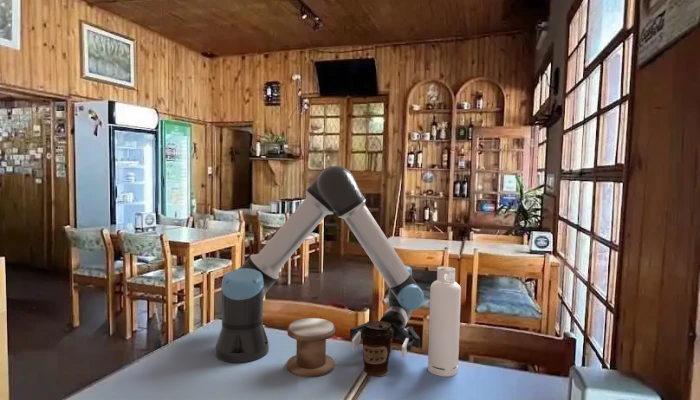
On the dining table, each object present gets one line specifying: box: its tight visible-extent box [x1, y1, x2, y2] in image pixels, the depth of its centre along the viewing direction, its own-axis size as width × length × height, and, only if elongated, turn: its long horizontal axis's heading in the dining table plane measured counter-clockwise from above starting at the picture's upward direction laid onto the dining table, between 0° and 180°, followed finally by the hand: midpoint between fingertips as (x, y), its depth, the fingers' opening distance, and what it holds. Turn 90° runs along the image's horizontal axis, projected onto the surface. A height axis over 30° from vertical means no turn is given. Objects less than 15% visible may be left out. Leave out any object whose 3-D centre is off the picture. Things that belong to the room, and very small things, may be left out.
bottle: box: [427, 266, 462, 377], centre depth 117 cm, size 8×8×28 cm
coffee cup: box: [361, 320, 393, 377], centre depth 116 cm, size 9×8×13 cm
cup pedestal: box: [286, 317, 336, 378], centre depth 118 cm, size 13×13×11 cm
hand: (377, 348), depth 114 cm, fingers open, 13 cm apart
